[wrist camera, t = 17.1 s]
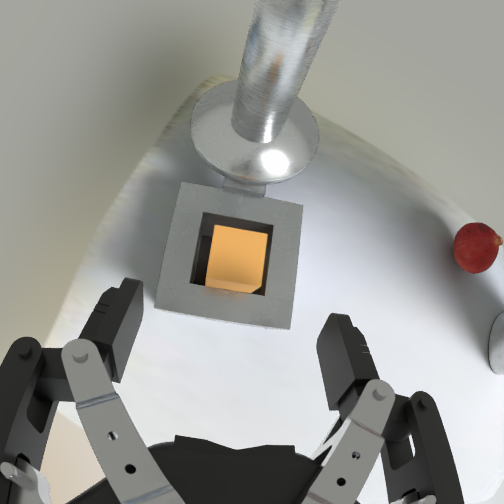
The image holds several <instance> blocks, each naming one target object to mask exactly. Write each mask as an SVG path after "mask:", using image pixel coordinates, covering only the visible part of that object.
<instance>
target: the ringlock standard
mask: <svg viewBox="0 0 504 504" xmlns="http://www.w3.org/2000/svg"><path fill="white" fill-rule="evenodd" d="M340 1H341V0H255V4H254V8H253V12H252V17H251V21H250V25H249V30H248V35H247V39H246V44H245V49H244V53H243V58H242V63H241V68H240V73H239V78H238V80H234V81H229V82H226V83H223V84H220V85H218V86H215V87H214V88H212V89H210V90H209V91H207V92H206V93H205V94H204V95H203V96H202V97H201V98H200V99H199V100H198V102H197V103H196V105H195V107H194V109H193V112H192V116H191V138H192V142H193V145H194V147H195V149H196V151H197V153H198V154H199V156H200V157H201V159H202V160H203V161H204V162H205V163H206V164H207V165H208V166H209V167H211V168H212V169H213V170H215V171H216V172H218V173H219V174H221V175H223V176H225V179H224V184H223V189H221V188H216V187H210V186H205V185H199V184H193V183H187V182H181V186H180V190H179V193H178V197H177V201H176V205H175V209H174V213H173V217H172V222H171V226H170V230H169V235H168V239H167V243H166V248H165V253H164V257H163V262H162V267H161V272H160V277H159V282H158V288H157V293H156V299H155V304H154V308H156V309H159V310H162V311H165V312H170V313H175V314H181V315H186V316H191V317H197V318H203V319H209V320H215V321H221V322H227V323H234V324H240V325H247V326H254V327H261V328H269V329H286V330H290V325H291V317H292V309H293V301H294V292H295V283H296V274H297V265H298V255H299V245H300V235H301V224H302V212H303V205H300V204H295V203H291V202H286V201H281V200H277V199H272V198H267V197H264V195H265V190H266V185H270V184H276V183H281V182H283V181H286V180H289V179H291V178H293V177H295V176H296V175H298V174H299V173H300V172H301V171H303V170H304V169H305V168H306V166H307V165H308V164H309V162H310V161H311V159H312V158H313V156H314V154H315V152H316V150H317V147H318V144H319V130H318V125H317V123H316V120H315V118H314V116H313V114H312V112H311V111H310V109H309V108H308V107H307V106H306V105H305V103H304V102H303V101H302V100H300V99H299V98H298V97H297V95H298V93H299V91H300V89H301V86H302V84H303V82H304V80H305V77H306V75H307V73H308V71H309V68H310V66H311V64H312V62H313V60H314V57H315V55H316V53H317V51H318V49H319V46H320V44H321V42H322V40H323V37H324V36H325V33H326V31H327V29H328V27H329V25H330V23H331V21H332V18H333V16H334V14H335V12H336V10H337V8H338V6H339V3H340ZM215 225H219V226H225V227H231V228H237V229H242V230H248V231H253V232H259V233H265V234H268V235H267V243H266V251H265V259H264V267H263V275H262V283H261V287H260V288H258V289H256V290H255V291H253V292H252V294H249V293H243V292H237V291H231V290H225V289H219V288H213V287H207V286H202V285H196V284H194V278H195V272H196V267H197V261H198V256H199V251H200V245H201V240H202V235H205V236H210V237H213V233H214V227H215Z"/></svg>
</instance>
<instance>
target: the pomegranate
mask: <svg viewBox="0 0 504 504" xmlns="http://www.w3.org/2000/svg"><path fill="white" fill-rule="evenodd" d="M502 243H503V239H502V238H501V237H500V236H499V235H497V234H496V233H495V231H494V230H493V229H491V228H490V227H489V226H487V225H485V224H483V223H469V224H466V225H464V226H463V227H462V228H461V229H460V230H459V231H458V232H457V234H456V236H455V240H454V245H453V257H454V259H455V260H456V261H457V263H458V264H459V266H460V267H461V268H462V269H463V270H465V271H467V272H469V273H472V274H475V273H481V272H483V271H485V270H487V269H488V268H489V267H491V265H492V264H493V262H494V261H495V259H496V257H497V254H498V250H499V246H500V245H502Z"/></svg>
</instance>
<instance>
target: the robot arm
mask: <svg viewBox="0 0 504 504" xmlns="http://www.w3.org/2000/svg"><path fill="white" fill-rule="evenodd" d="M142 317H143V281H140V280H135V279H131V278H124V280H123V282H122V283H121V285H120V287H119V288H114V287H111V288H109V289H108V290H107V291H105V292H104V293H103V294H102V296H101V297H100V299H99V301H98V304H96V306H95V308H94V311H92V313H91V315H90V317H89V319H88V321H87V322H86V324H85V326H84V328H83V330H82V332H81V334H80V336H79V337H78V339H75V340H72V341H70V342H68V343H67V344H66V345H65V346H64V348H41V345H40V343H39V342H38V341H37V340H36V339H34V338H32V337H22V338H19V339H17V340H16V341H15V342H14V343H13V344H12V345H11V347H10V349H9V350H8V352H7V354H6V356H5V358H4V360H3V362H2V364H1V366H0V504H53V503H52V502H51V498H50V486H49V483H48V481H47V479H46V478H45V476H44V475H43V474H42V473H40V467H41V463H42V459H43V455H44V451H45V447H46V443H47V440H48V436H49V432H50V429H51V425H52V422H53V419H54V416H55V412H56V409H57V406H58V403H59V401H67V402H75V403H76V409H77V412H78V415H79V418H80V420H81V423H82V425H83V428H84V430H85V433H86V435H87V437H88V440H89V442H90V444H91V447H92V449H93V451H94V453H95V455H96V457H97V460H98V461H99V464H100V465H101V468H102V469H103V472H104V473H105V476H106V477H105V478H104V479H102V480H101V481H99V482H98V483H96V484H95V485H93V486H92V487H91V488H89V489H88V490H86V491H85V492H83V493H81V494H80V495H78V496H77V497H75V498H74V499H72V500H71V501H69V502H67V503H66V504H360V503H359V502H358V501H357V500H356V499H357V497H358V495H359V494H360V492H361V490H362V488H363V486H364V484H365V482H366V480H367V478H368V476H369V474H370V472H371V470H372V468H373V466H374V464H375V462H376V459H377V457H378V455H379V453H380V452H381V458H382V463H383V469H384V475H385V481H386V487H387V494H388V501H389V504H464V500H463V495H462V490H461V486H460V482H459V478H458V474H457V470H456V466H455V463H454V459H453V455H452V452H451V449H450V445H449V442H448V439H447V435H446V432H445V429H444V426H443V423H442V420H441V417H440V414H439V411H438V409H437V406H436V403H435V401H434V399H433V398H432V397H431V396H430V395H429V394H428V393H426V392H423V391H418V392H415V393H414V394H413V395H412V396H411V397H410V398H409V397H405V396H401V395H397V394H395V393H394V390H393V389H392V387H391V386H390V385H389V384H388V383H386V382H385V381H383V380H380V378H379V375H378V373H377V370H376V367H375V364H374V362H373V359H372V356H371V354H370V351H369V348H368V347H367V343H366V340H365V338H364V335H363V334H362V333H361V332H360V331H359V329H358V328H357V327H353V325H352V322H351V320H350V317H349V316H348V315H345V314H337V313H331V314H330V315H329V317H328V319H327V321H326V323H325V325H324V327H323V329H322V331H321V333H320V335H319V337H318V339H317V345H316V348H317V354H318V358H319V363H320V368H321V372H322V377H323V382H324V386H325V391H326V396H327V401H328V406H329V410H339V413H340V415H339V416H338V417H337V419H336V421H335V422H334V424H333V425H332V427H331V429H330V430H329V432H328V433H327V435H326V437H325V438H324V440H323V441H322V443H321V444H320V446H319V447H318V449H317V450H316V451H315V452H314V453H313V455H312V456H311V457H310V458H308V457H306V456H304V455H301V454H299V453H295V446H294V445H263V446H258V447H252V448H246V449H240V450H235V449H231V448H228V447H225V446H222V445H219V444H216V443H213V442H211V441H208V440H205V439H197V438H191V437H185V436H179V435H175V440H174V442H164V443H159V444H155V445H152V446H150V447H146V445H145V444H144V442H143V440H142V438H141V437H140V435H139V433H138V431H137V429H136V428H135V426H134V424H133V422H132V420H131V418H130V416H129V414H128V412H127V410H126V408H125V406H124V404H123V402H122V400H121V398H120V397H119V395H118V394H117V393H116V391H115V389H114V387H113V385H112V381H113V382H117V383H120V382H121V379H122V376H123V373H124V370H125V367H126V364H127V361H128V358H129V355H130V352H131V349H132V346H133V343H134V341H135V338H136V335H137V332H138V330H139V327H140V324H141V321H142ZM489 360H490V365H491V368H492V370H493V371H494V372H495V373H496V374H499V375H504V312H503V313H501V314H500V315H498V317H497V318H496V320H495V322H494V324H493V327H492V330H491V335H490V341H489ZM410 435H412V439H413V443H414V447H415V456H414V457H413V453H412V449H411V445H410V441H409V437H408V436H410Z"/></svg>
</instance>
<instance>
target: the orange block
mask: <svg viewBox="0 0 504 504" xmlns="http://www.w3.org/2000/svg"><path fill="white" fill-rule="evenodd" d="M267 235H268V234H265V233H259V232H253V231H248V230H242V229H237V228H231V227H225V226H219V225H215V227H214V233H213V239H212V244H211V250H210V256H209V262H208V268H207V274H206V282H205V286H207V287H213V288H219V289H225V290H231V291H237V292H243V293H249V294H250V293H252V292H253V291H255V290H256V289H258V288H260V287H261V283H262V275H263V267H264V259H265V251H266V243H267Z"/></svg>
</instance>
